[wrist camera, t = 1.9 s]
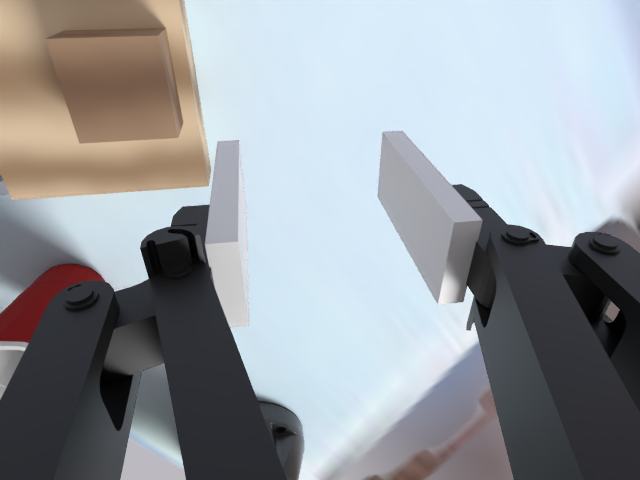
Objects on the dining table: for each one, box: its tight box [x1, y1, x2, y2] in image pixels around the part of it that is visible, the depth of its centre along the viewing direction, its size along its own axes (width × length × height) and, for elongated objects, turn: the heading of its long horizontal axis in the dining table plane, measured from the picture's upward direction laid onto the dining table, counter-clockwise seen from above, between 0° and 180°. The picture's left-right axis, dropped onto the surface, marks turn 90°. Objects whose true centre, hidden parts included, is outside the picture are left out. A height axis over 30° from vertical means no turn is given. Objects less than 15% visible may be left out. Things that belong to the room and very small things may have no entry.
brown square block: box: [45, 28, 183, 144], centre depth 27 cm, size 6×6×3 cm
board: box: [0, 0, 211, 200], centre depth 29 cm, size 16×14×3 cm
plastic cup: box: [0, 264, 105, 399], centre depth 35 cm, size 11×11×12 cm
